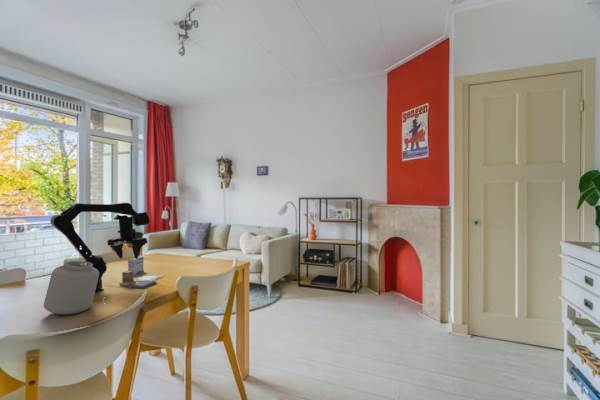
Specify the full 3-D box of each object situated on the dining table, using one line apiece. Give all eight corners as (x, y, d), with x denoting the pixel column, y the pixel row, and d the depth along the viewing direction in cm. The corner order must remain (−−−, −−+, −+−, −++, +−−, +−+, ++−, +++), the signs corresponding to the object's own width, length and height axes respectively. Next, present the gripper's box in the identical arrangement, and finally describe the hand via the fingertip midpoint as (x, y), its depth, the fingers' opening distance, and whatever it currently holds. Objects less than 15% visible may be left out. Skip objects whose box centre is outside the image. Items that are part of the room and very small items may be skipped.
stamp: (128, 286, 141) (128, 273, 141) (119, 285, 142) (119, 272, 142) (136, 283, 146) (136, 270, 146) (127, 282, 147) (127, 270, 147)
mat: (148, 282, 148) (148, 281, 148) (130, 280, 150) (130, 279, 150) (163, 276, 158) (163, 275, 158) (146, 275, 161) (146, 274, 161)
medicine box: (135, 275, 161) (135, 259, 161) (127, 274, 162) (127, 259, 161) (143, 271, 169) (143, 256, 169) (136, 271, 169) (136, 256, 169)
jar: (109, 301, 121) (109, 242, 121) (98, 315, 107) (97, 248, 107) (55, 306, 115) (54, 244, 115) (35, 321, 101) (34, 250, 101)
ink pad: (143, 289, 137) (143, 286, 137) (130, 287, 139) (130, 285, 139) (156, 283, 146) (156, 281, 146) (144, 282, 148) (144, 279, 148)
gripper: (153, 224, 149) (156, 254, 150) (123, 225, 153) (126, 253, 154) (137, 228, 138) (140, 260, 139) (105, 228, 142) (108, 259, 144)
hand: (128, 258), depth 144 cm, fingers open, 9 cm apart
